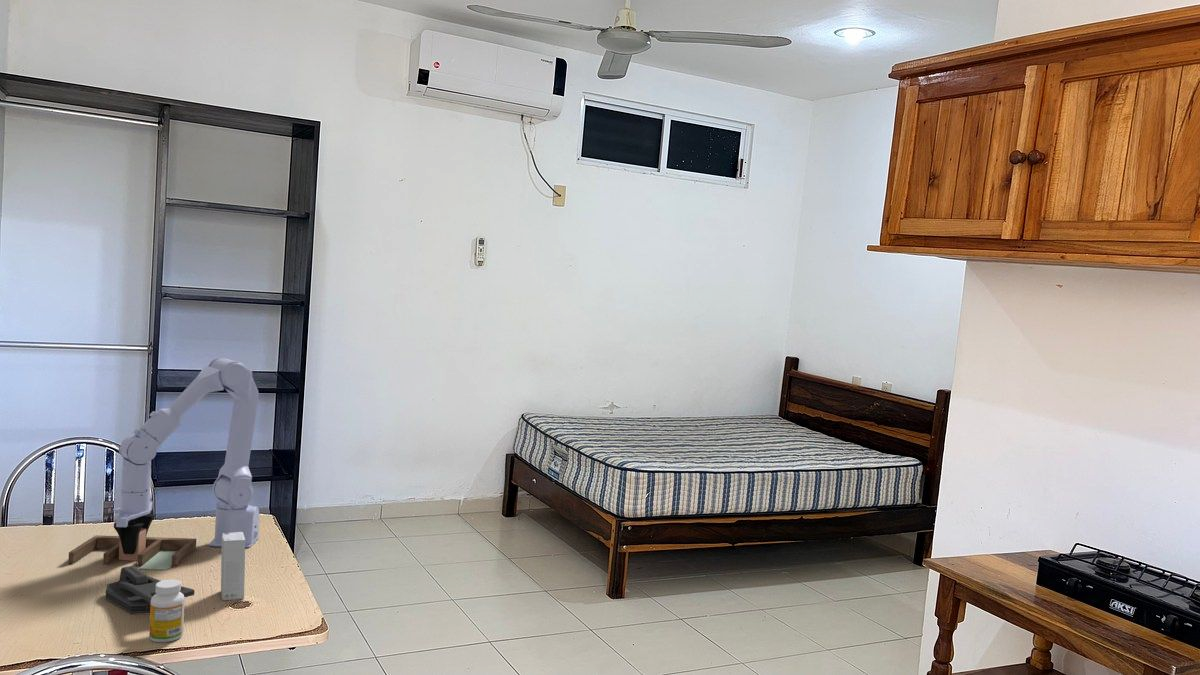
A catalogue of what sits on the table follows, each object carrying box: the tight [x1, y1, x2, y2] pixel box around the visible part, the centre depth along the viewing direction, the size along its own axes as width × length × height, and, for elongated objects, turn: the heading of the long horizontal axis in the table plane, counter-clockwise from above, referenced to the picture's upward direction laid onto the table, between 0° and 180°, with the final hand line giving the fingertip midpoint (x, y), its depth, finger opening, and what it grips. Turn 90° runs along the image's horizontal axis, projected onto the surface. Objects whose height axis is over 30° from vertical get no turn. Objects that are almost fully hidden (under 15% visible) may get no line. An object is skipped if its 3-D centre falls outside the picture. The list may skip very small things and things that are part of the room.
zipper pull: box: [105, 565, 196, 615], centre depth 166 cm, size 9×7×25 cm
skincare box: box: [220, 532, 246, 601], centre depth 176 cm, size 6×4×12 cm
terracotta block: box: [118, 528, 147, 562], centre depth 193 cm, size 4×4×6 cm
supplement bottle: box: [149, 578, 185, 643], centre depth 154 cm, size 5×5×10 cm
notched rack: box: [68, 534, 197, 571], centre depth 193 cm, size 22×14×2 cm, turn 97°
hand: (133, 550), depth 193 cm, fingers closed on terracotta block, 4 cm apart
